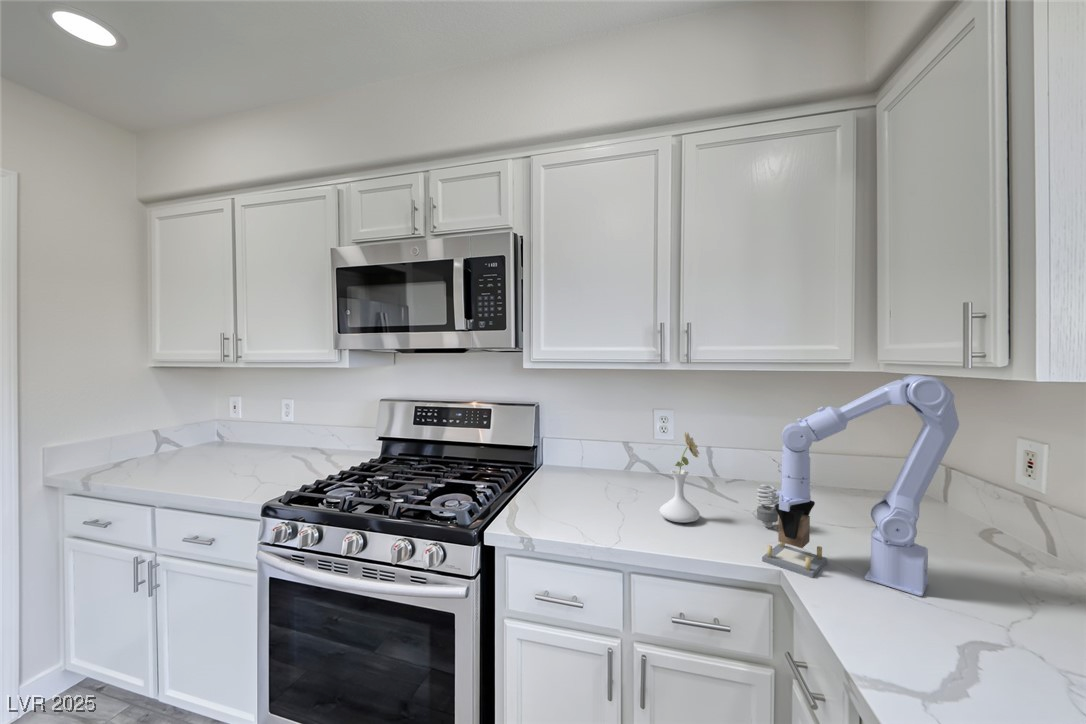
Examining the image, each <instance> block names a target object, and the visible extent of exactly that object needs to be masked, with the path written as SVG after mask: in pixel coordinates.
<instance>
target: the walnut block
mask: <svg viewBox="0 0 1086 724" xmlns="http://www.w3.org/2000/svg"><path fill="white" fill-rule="evenodd" d="M810 522H811V516H810V515H809V516H807V515H802V517H801V519H800V522H799V526H798V532H797V536H796V539H792V538H788V537H785V534H784V530H783V526H782V522H781V519H780V517H779V516H778V533H777V534H778V535H777V536H778V538H777V540H778V542H779V543H780V542H782V543H785V545H786V544H787V545H788V546H791V547H792V546H793V547H795V548H796V547H797V548H800V549H803V548H804V547H805V546H807V545H808V544H809V543H810V540H811V539H810V537H811V536H810V534H811V533H810V532H811V531H810V529H811V526H810V524H811V523H810Z"/></svg>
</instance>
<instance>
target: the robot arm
mask: <svg viewBox="0 0 1086 724" xmlns="http://www.w3.org/2000/svg"><path fill="white" fill-rule="evenodd" d="M889 405H890V406H911V407H912V408H913V409H914V410H915V412H916V414H917V415H918V417H919V418H920V420H921V421H922V427H921V428H920V430H919V431H918V434H917V436H916V438H915V441H914V442H913V444H912V446H911V449H910V451H909V453H908V455H907V456H906V459H905V461H904V462H903V465H902V467H901V468H900V471H899V473H898V475H897V476H896V479H895V481H894V483H893V485H892V487H891V489H890V490H888V492H885V494H884V495H883V498H882V499H881V500H880V501H878V502H877V503H875V504H873V506H872V508H871V510H870V516H871V520H872V521H873V522H874V524H875V525H876V526H875V527H874V529H873V530H871V533H870V534H871V535H870V569H869V570H868V572H866V574H865V575H864V579H865V580H867V581H869V582H874V583H876V584H879V585H882V586H887V587H889V588H893V589H896V590H899V591H903V592H905V593H908V594H911V595H915V596H918V597H923V596H924V593H925V591H926V589H927V586H928V584H929V575H928V574H929V573H928V569H929V568H928V567H929V550H928V547H926V546H923V545H920V544H918V543H916V542H915V539H916V537H917V534H918V529H917V528H918V527H917V523H918V520H919V519H920V504H921V502H922V500H923V498H924V496H925V495H926V492H927V490H928V488H929V487H930V485H931V483H932V481H933V479H934V477H935V474H936V473H937V471H938V469H939V468H940V467H939V466H940V465H941V463H942V461H943V458H944V457H945V455H946V453H947V451H948V449H949V447H950V445H951V443H952V442H953V439H954V437H955V436H956V434H957V431H958V430H959V427H960V421H959V418H958V412H957V410H956V406H955V394H954V393H953V391H952V390H951V389H950V388H949V386H948V385H946V383H945V382H944V381H943V380H941V379H939V378H937V377H935V376H925V375H922V374H910V375H906V376H904V377H903V378H902V379H897V380H893V381H891V382H888V383H886V384H884V385H882V386H880V387H877V388H875V389H874V390H871V391H870V392H868V393H866V394H864V395H863V396H861V397H858V398H856V399H855V400H852V401H850V402H849V403H846V404H845V405H843V406H841V407H834V406H830V405H829V406H827V407H824V406H820V407H818V408H817V412H814V413H813V414H809V415H808V416H806V417H804V418H802V417H799V418H797V419H796V422H791V423H788V424H787V425H785V426H784V427H783V429H782V432H781V434H780V435H781V440H782V442H783V445H782V450H781V451H782V454H781V489H777V490H778V491H775V492H776V494H777V495H779V502H778V504H776V505H775V509H776V511H777V513H778V518H779V517H780V519H781V522H782V526H783V530H784V534H785V537H788V538H792V539H796V536H797V532H798V526H799V522H800V519H801V517H802V515H807V516H810V513H811V511H812V509H813V508H814V506H815V504H816V502H815V501H813V500H811V499H812V497H811V457H810V448H811V446H812V444H813V442H814V443H815V442H820V441H822V440H825V439H827V438H829V437H832V436H834V435H836V434H838V433H840V432H842V431H844V430H846V429H847V426H848V423H849V421H852V420H855V419H857V418H860V417H861V416H863V415H864V416H865V415H867V414H868V413H871V412H874V411H877V410H878V409H881V408H883V407H886V406H889Z"/></svg>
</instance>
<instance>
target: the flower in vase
mask: <svg viewBox="0 0 1086 724" xmlns="http://www.w3.org/2000/svg"><path fill="white" fill-rule="evenodd" d="M683 437H684V443H685V444H686V447H685V449H684V450H683V453H682V455H681V460H680V461H679V460H678V461H677V462H676V463H675V465H674V466H675V467H678V468H679V469H671V470H670V473H671V475H672V476H673V479H674V485H675V491H674V492H675V493H674V495H673V497H672V498H671V499H669V500H668V501H667V502H665V503H664V504H662V505H661V506H660V508H659V510H658V513H659V514H660V516H661V517H662V518H664V519H666V520H668V521H671V522H675V523H681V524H682V523H692V522H695V521H698V520H699V519H700V517H701V514H700V512H699V510H698V509H697V507H695V505H693V504H692V503H691V502H689V501H688V500H687V498H686V497H685V494H684V486H685V481H686V478H687V476H688V475H689V471H687V470H683V469H682V467H683V466H684V465H685V466H688V465H689V459H688V458H687V457H686V456H685V453H686V452H687V449H688V451H689V452H690V453H691V455H692V456H693V457H694V458H697V459H698V458H700V457H699V455H700V452H699V450H698V449H699V448H698V446H697V444H696V442H695V441H694V438H693V437H690V434H689V432H685V431H684V433H683Z"/></svg>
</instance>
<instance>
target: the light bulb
mask: <svg viewBox="0 0 1086 724" xmlns="http://www.w3.org/2000/svg"><path fill="white" fill-rule="evenodd" d="M778 490H779V489H778V488H776V487H774V486H773V485H771V484H760V487H758V488H756V491H757V492H756V497H755V498H756V499H757V501H756V502H757V504H758V506H757V508H756V517H757V519H758V520H759V521H762V522H761V523H762V526H763V527H765V528H766V529H770V528H772V527H773V523H776V522H779V515H778V513H777V511H776V509H775V505H776V504H778V503H779V501H780V495H777V494H776V491H778Z"/></svg>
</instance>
